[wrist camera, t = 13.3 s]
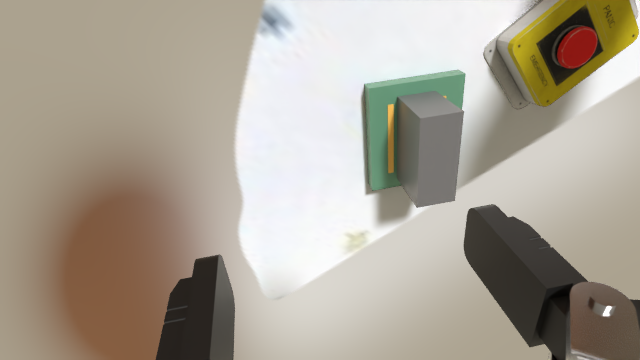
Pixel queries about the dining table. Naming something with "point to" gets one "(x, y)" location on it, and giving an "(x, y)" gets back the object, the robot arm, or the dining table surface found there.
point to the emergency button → (559, 47)
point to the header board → (385, 118)
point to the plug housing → (428, 147)
